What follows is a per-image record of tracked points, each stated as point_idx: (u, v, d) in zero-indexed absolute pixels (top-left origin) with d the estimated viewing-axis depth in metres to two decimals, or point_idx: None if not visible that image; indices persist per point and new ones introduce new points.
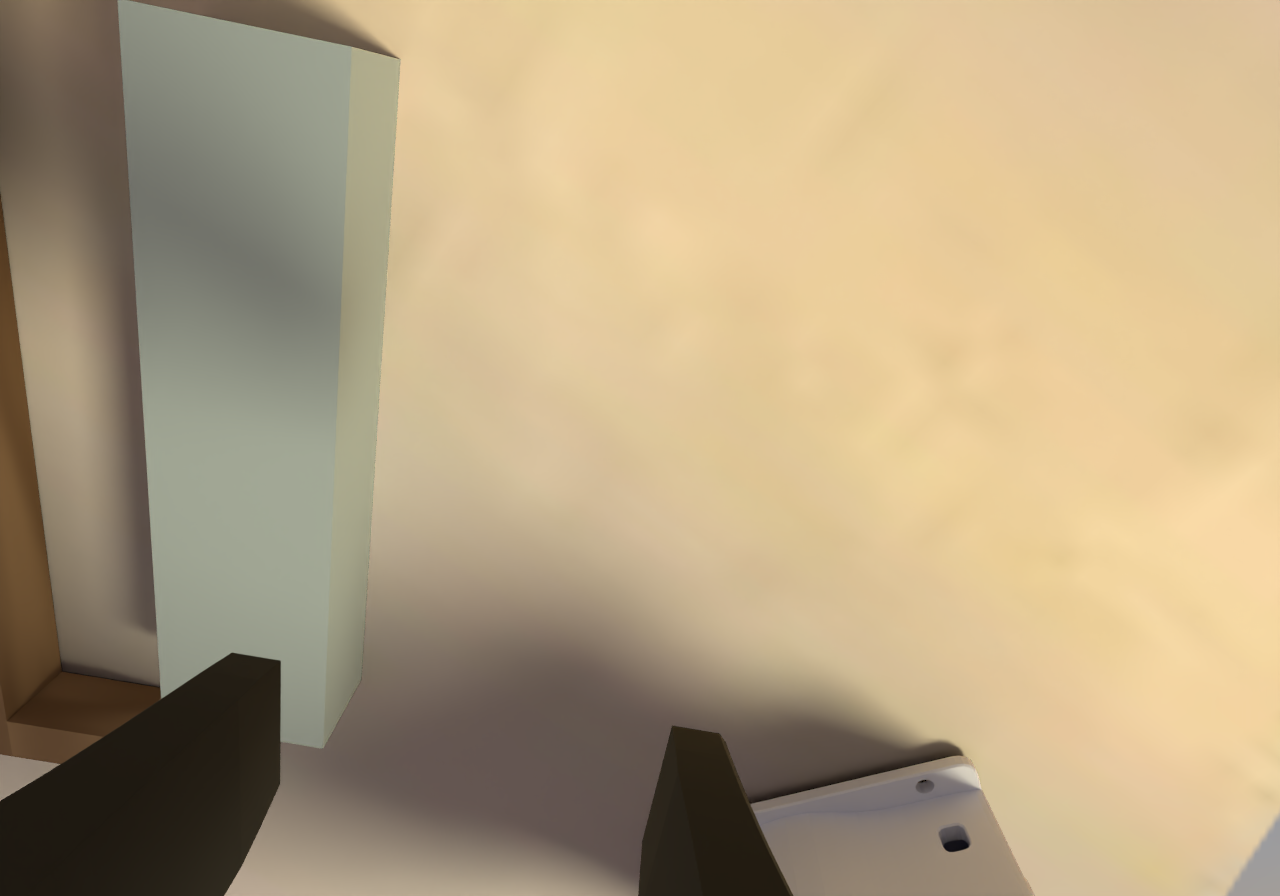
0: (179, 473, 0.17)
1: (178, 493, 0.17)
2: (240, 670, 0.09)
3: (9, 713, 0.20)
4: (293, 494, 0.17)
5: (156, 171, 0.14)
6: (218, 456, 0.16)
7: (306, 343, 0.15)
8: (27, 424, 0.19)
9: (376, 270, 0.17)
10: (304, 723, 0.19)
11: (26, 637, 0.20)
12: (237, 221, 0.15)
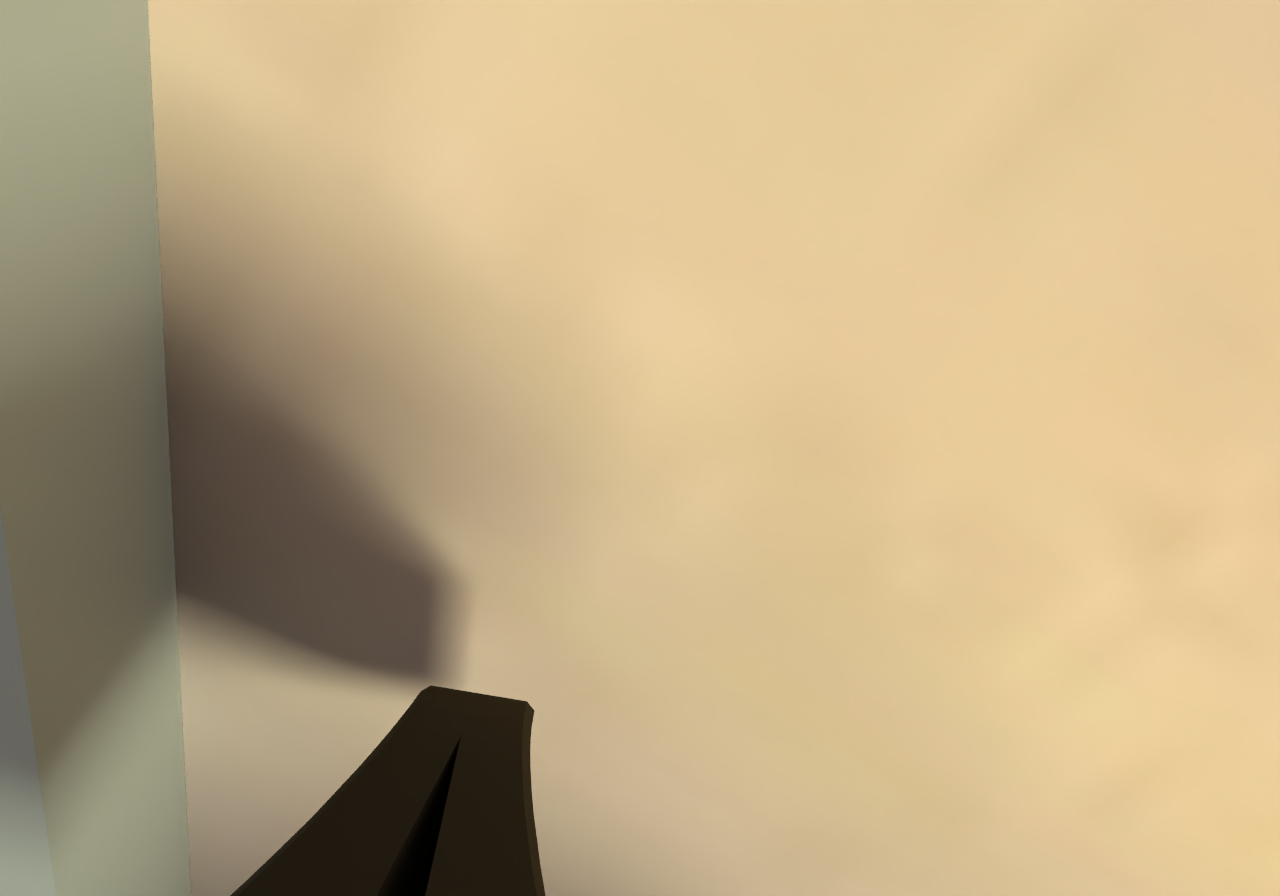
0: None
1: None
2: (447, 704, 0.09)
3: None
4: None
5: None
6: None
7: None
8: None
9: (128, 398, 0.09)
10: None
11: None
12: None
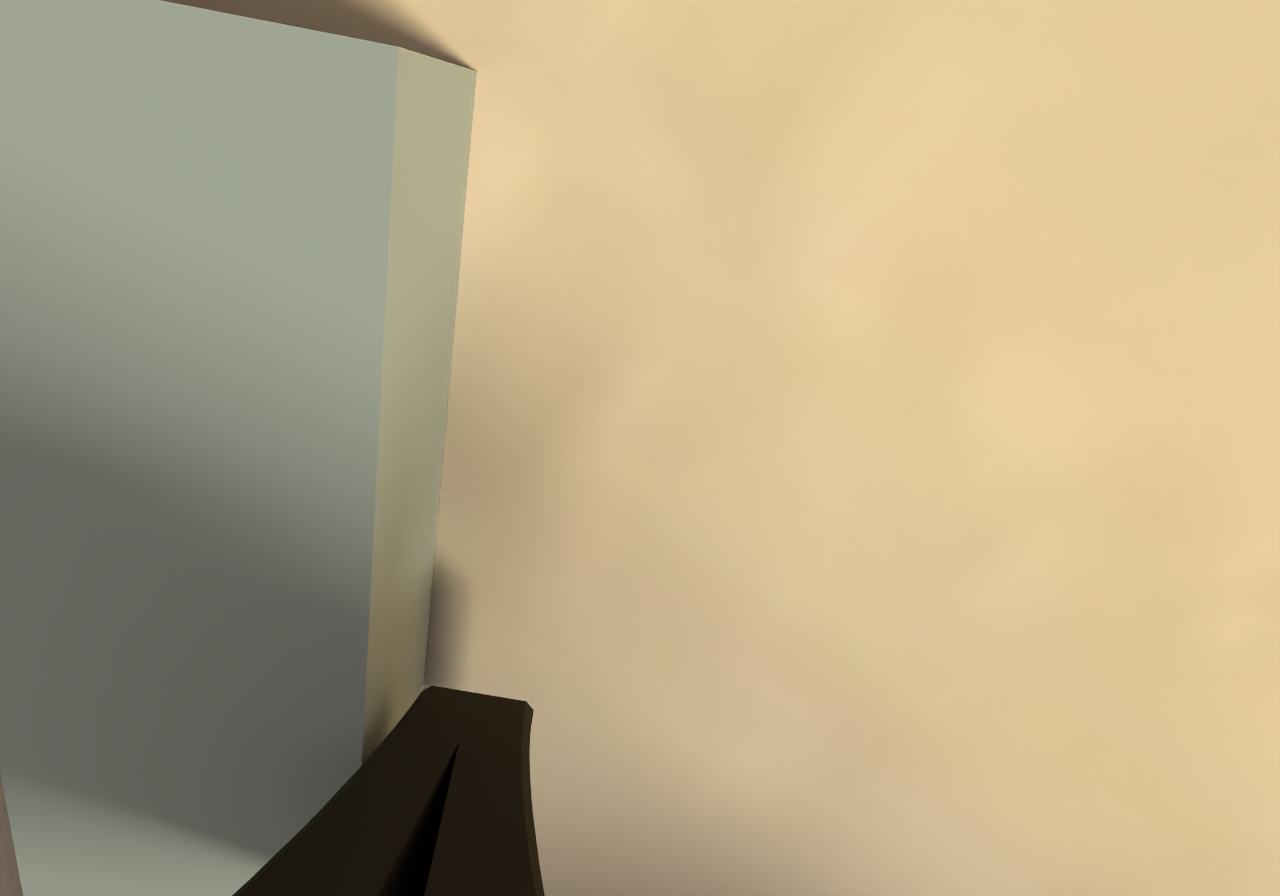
0: (72, 839, 0.09)
1: (72, 869, 0.09)
2: (449, 704, 0.09)
3: None
4: None
5: None
6: (141, 814, 0.09)
7: (301, 633, 0.08)
8: None
9: (429, 457, 0.09)
10: None
11: None
12: (155, 416, 0.07)
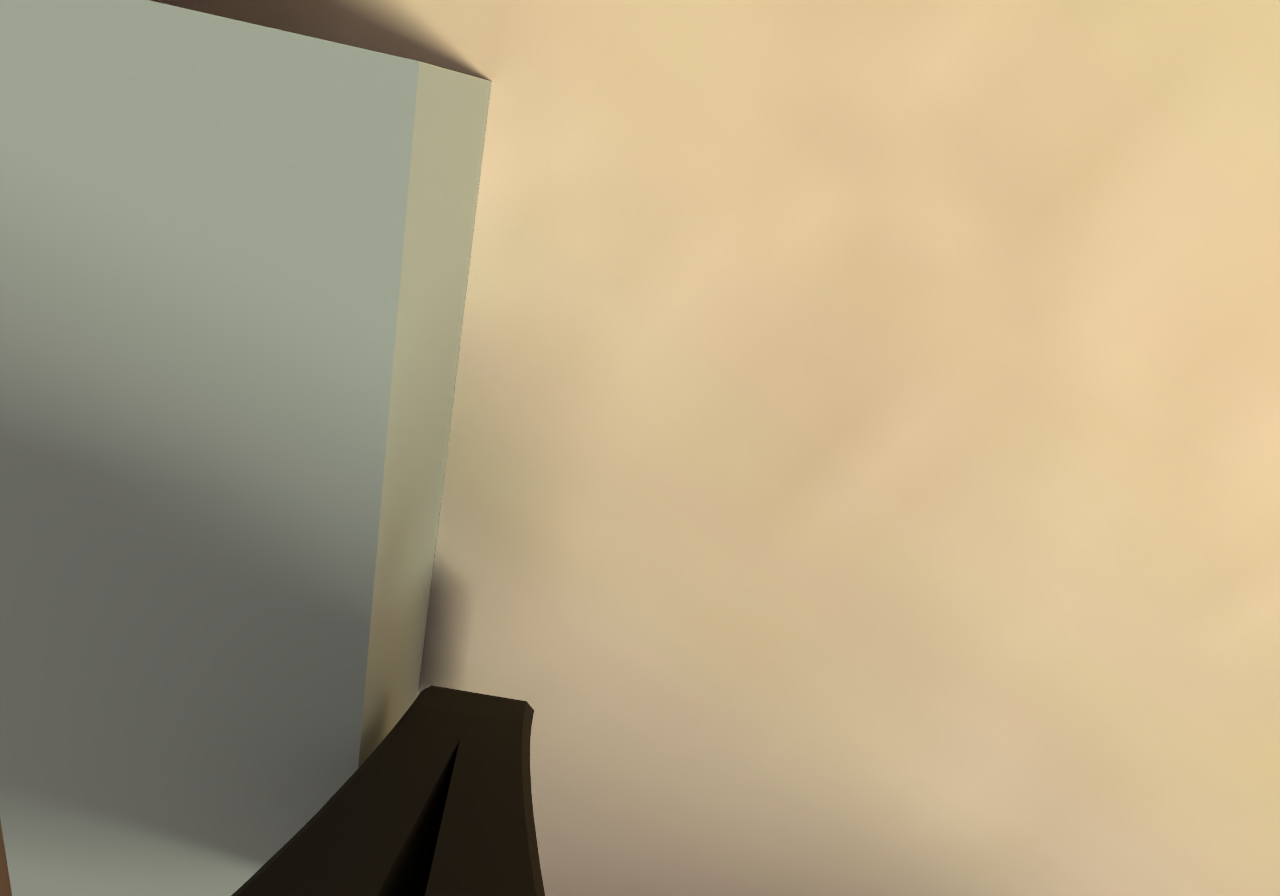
0: (63, 838, 0.09)
1: (63, 868, 0.09)
2: (448, 704, 0.09)
3: None
4: None
5: None
6: (133, 815, 0.09)
7: (302, 639, 0.08)
8: None
9: (433, 464, 0.09)
10: None
11: None
12: (161, 420, 0.07)
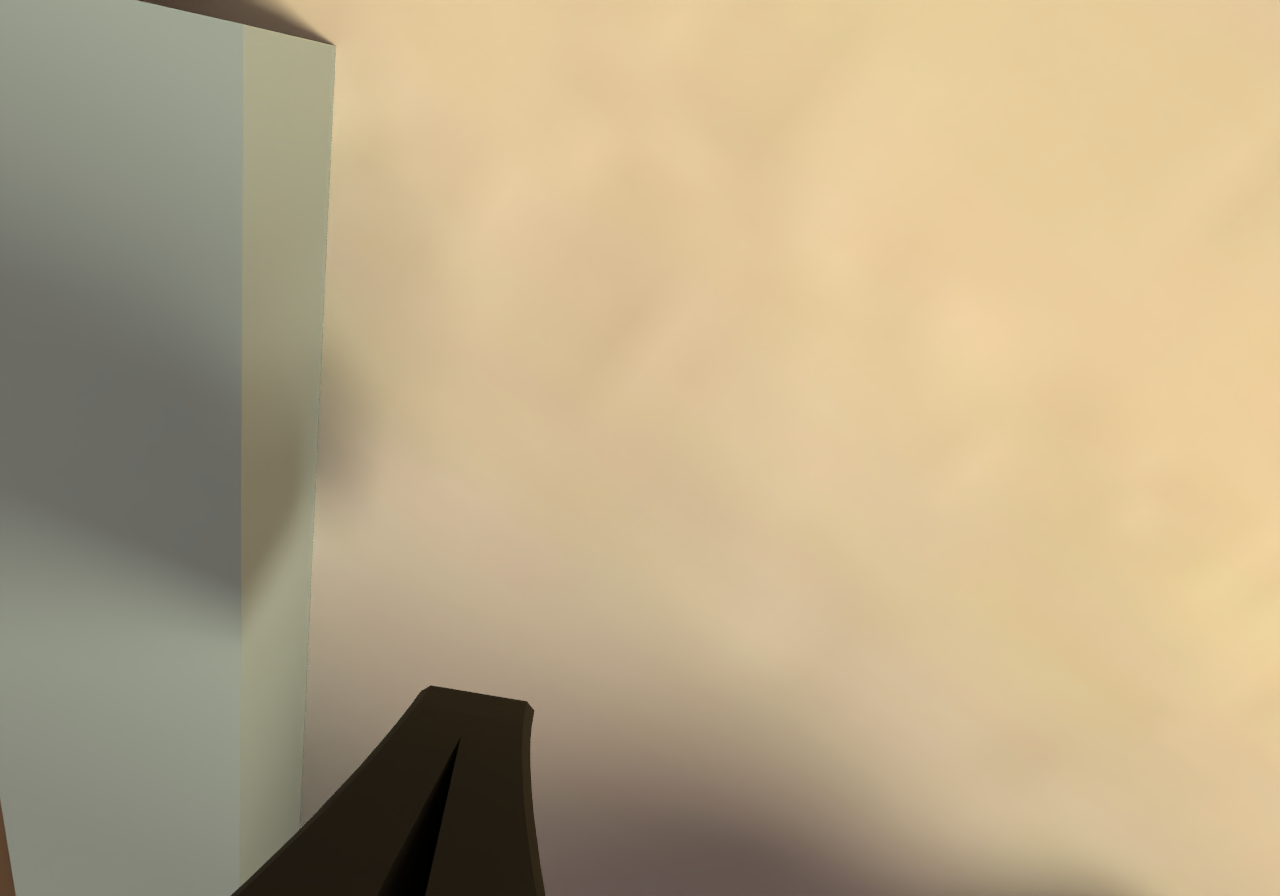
0: (19, 632, 0.12)
1: (20, 657, 0.12)
2: (448, 703, 0.09)
3: None
4: (182, 661, 0.12)
5: None
6: (73, 610, 0.11)
7: (192, 461, 0.10)
8: None
9: (304, 345, 0.12)
10: None
11: None
12: (78, 287, 0.10)
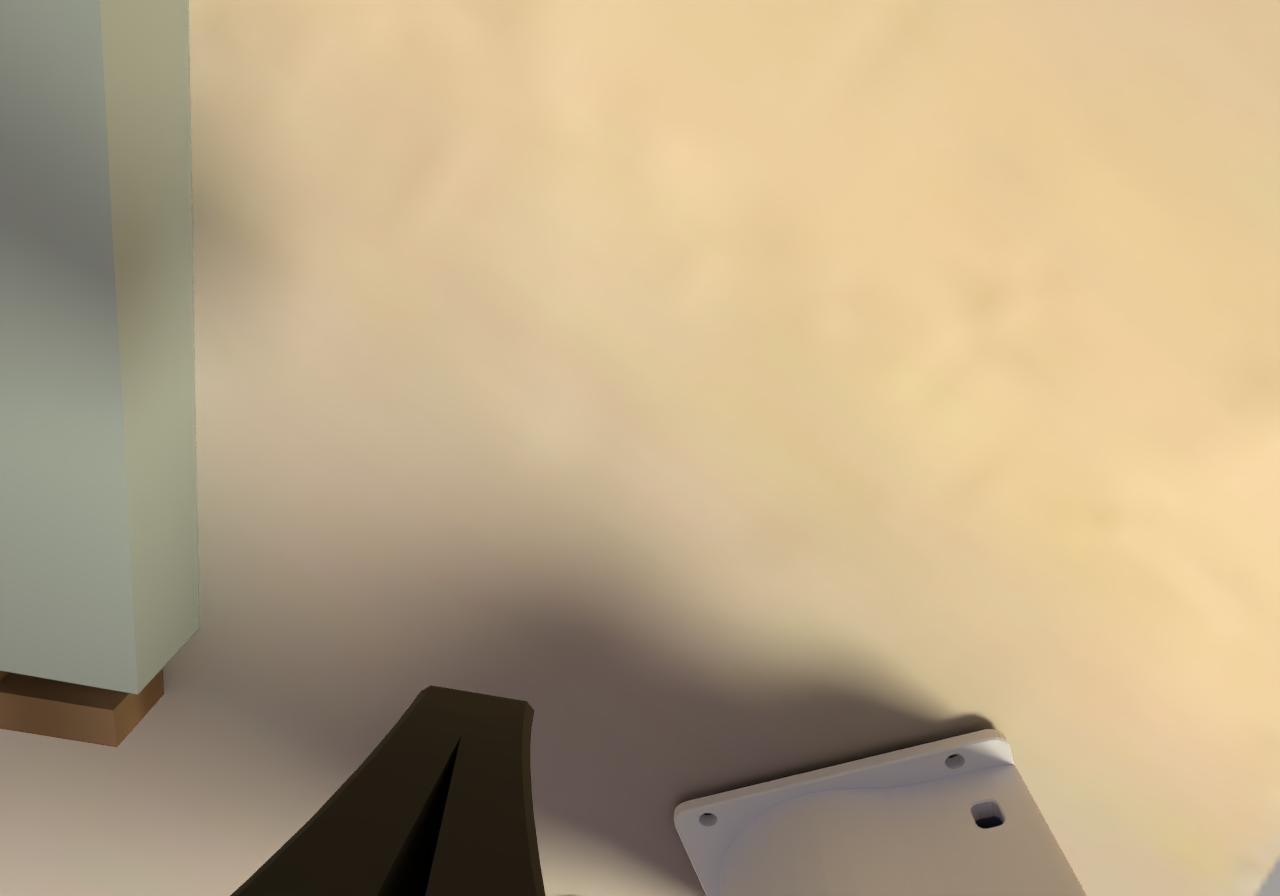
0: None
1: None
2: (448, 704, 0.09)
3: None
4: (79, 412, 0.16)
5: None
6: None
7: (76, 242, 0.14)
8: None
9: (172, 173, 0.16)
10: (115, 666, 0.18)
11: None
12: None
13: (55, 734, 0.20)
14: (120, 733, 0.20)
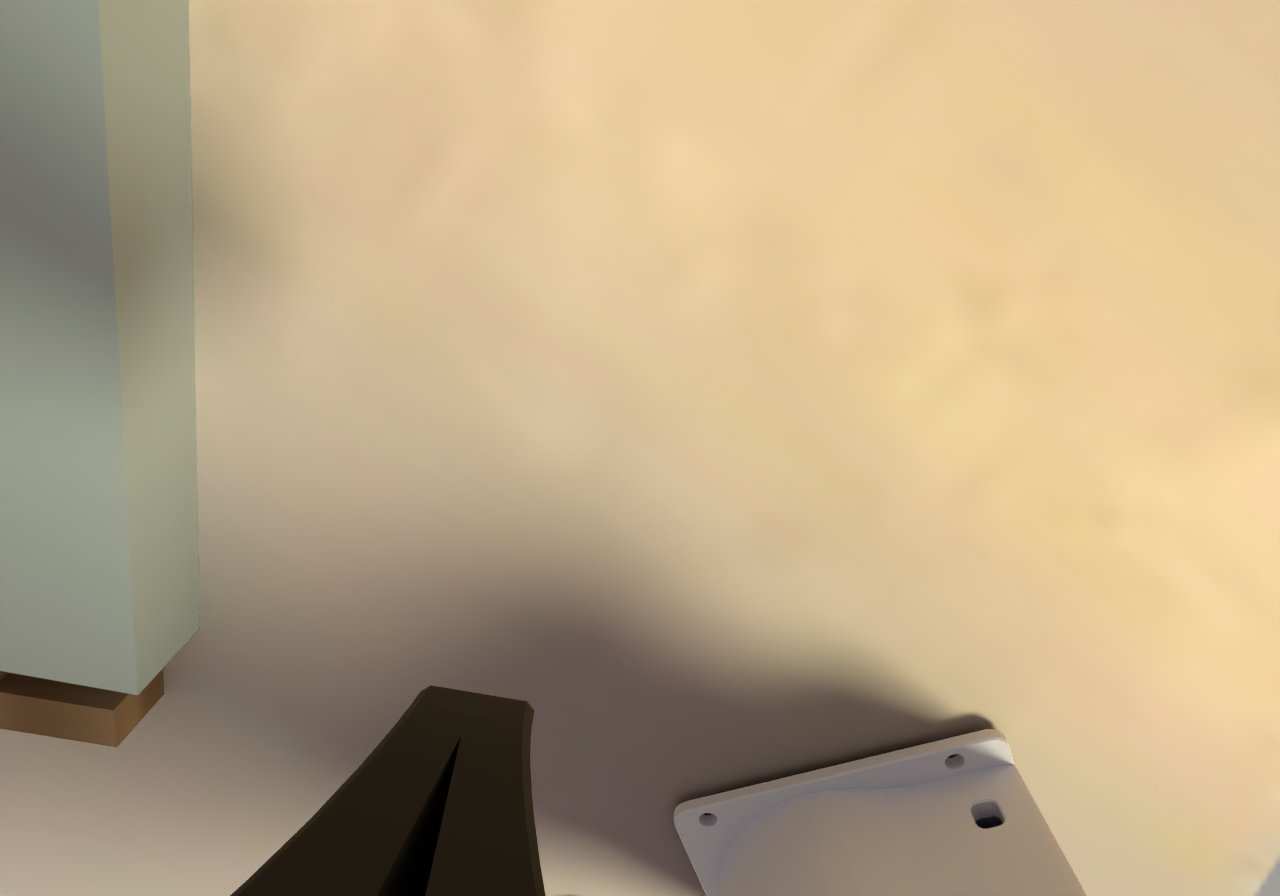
0: None
1: None
2: (448, 704, 0.09)
3: None
4: (78, 414, 0.16)
5: None
6: None
7: (76, 243, 0.14)
8: None
9: (171, 175, 0.16)
10: (115, 667, 0.18)
11: None
12: None
13: (55, 734, 0.20)
14: (120, 733, 0.20)
